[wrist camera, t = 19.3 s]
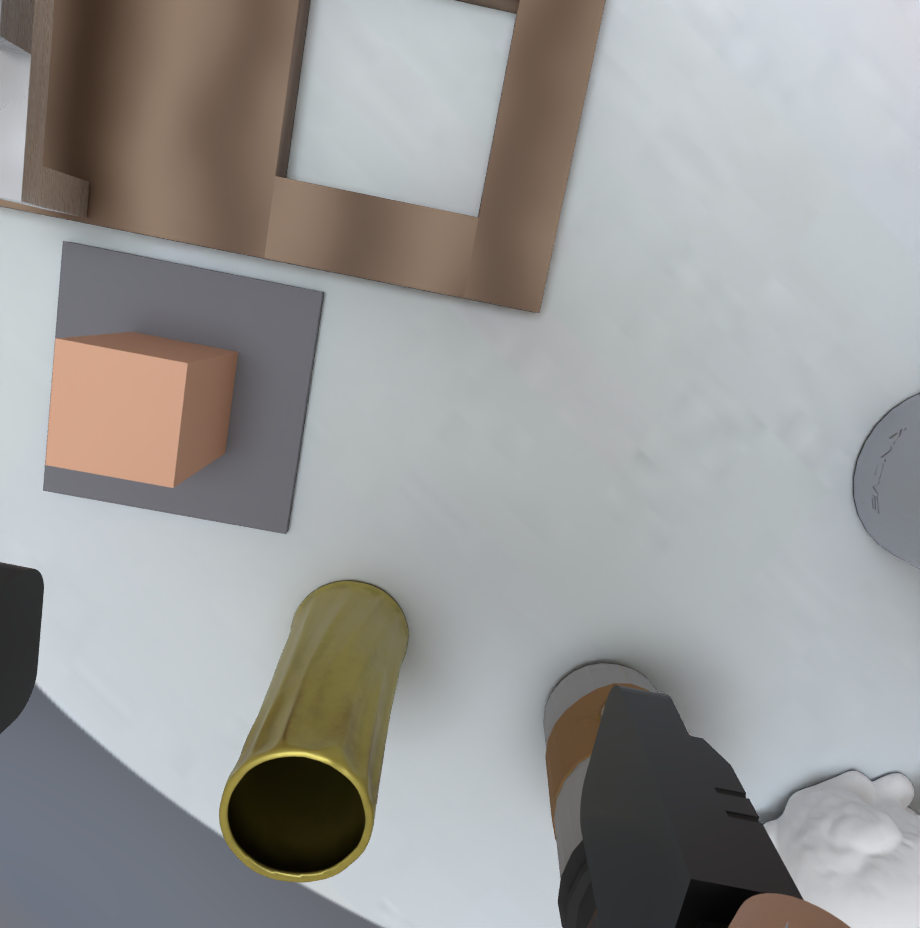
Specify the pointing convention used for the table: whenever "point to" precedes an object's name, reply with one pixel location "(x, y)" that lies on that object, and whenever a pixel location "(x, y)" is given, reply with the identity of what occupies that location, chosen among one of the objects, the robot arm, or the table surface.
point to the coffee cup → (577, 775)
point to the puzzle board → (269, 138)
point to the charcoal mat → (255, 387)
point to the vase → (318, 738)
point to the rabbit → (854, 849)
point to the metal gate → (30, 112)
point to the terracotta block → (139, 406)
